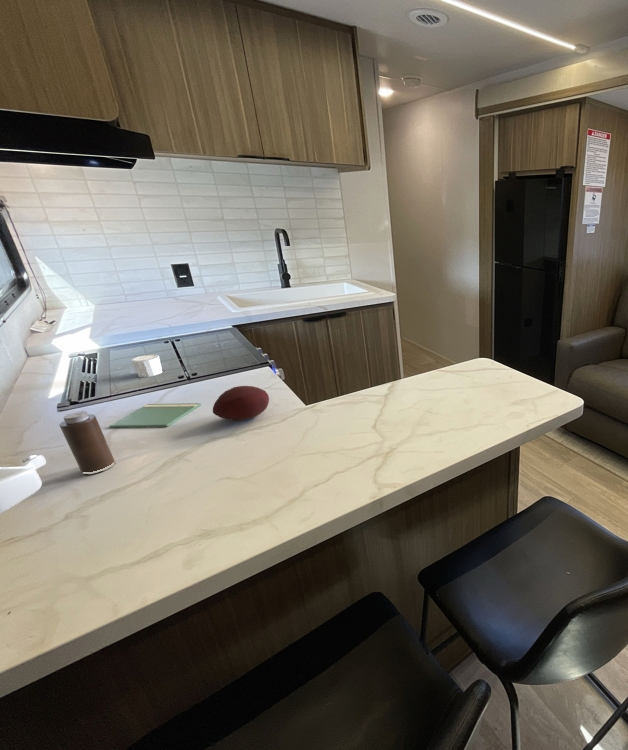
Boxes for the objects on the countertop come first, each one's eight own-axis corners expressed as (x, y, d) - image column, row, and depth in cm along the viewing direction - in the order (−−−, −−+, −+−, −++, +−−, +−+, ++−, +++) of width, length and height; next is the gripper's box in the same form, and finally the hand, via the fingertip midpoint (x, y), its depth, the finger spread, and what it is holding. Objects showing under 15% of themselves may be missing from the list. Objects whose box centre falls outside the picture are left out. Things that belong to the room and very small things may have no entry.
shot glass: (161, 372, 131) (154, 352, 129) (169, 377, 128) (162, 356, 125) (135, 379, 126) (127, 358, 124) (142, 384, 123) (134, 362, 120)
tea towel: (109, 427, 97) (108, 425, 97) (149, 405, 108) (148, 403, 108) (167, 426, 97) (166, 424, 97) (201, 405, 109) (200, 402, 108)
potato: (282, 410, 105) (275, 381, 102) (248, 431, 95) (239, 399, 92) (245, 406, 108) (237, 377, 104) (208, 426, 97) (199, 395, 94)
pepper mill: (74, 475, 79) (48, 420, 75) (98, 461, 84) (74, 408, 79) (100, 475, 79) (75, 420, 75) (122, 460, 84) (99, 408, 79)
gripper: (-166, 536, 55) (-41, 476, 68) (-16, 533, 55) (80, 474, 68) (-196, 499, 53) (-61, 444, 66) (-40, 496, 53) (64, 441, 66)
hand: (12, 459), depth 67 cm, fingers open, 8 cm apart
